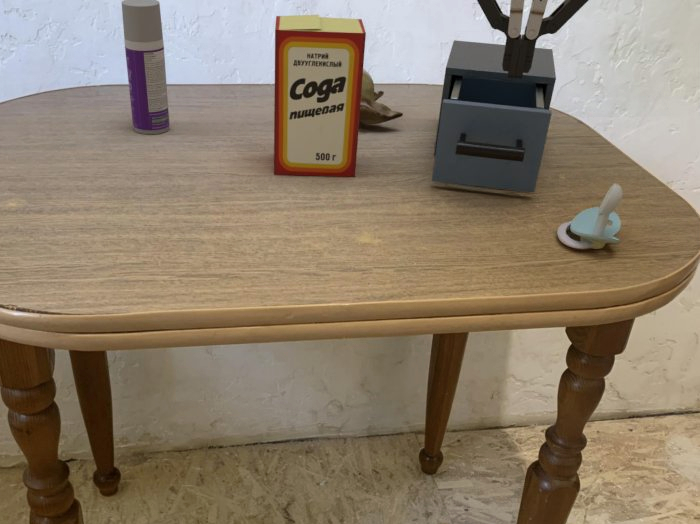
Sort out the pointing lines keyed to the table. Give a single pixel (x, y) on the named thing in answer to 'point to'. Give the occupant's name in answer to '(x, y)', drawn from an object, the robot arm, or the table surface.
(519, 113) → the drawer
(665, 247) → the table surface
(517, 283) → the table surface
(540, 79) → the cabinet
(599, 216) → the pacifier
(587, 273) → the table surface
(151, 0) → the container
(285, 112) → the baking soda box
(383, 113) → the ceramic sculpture
